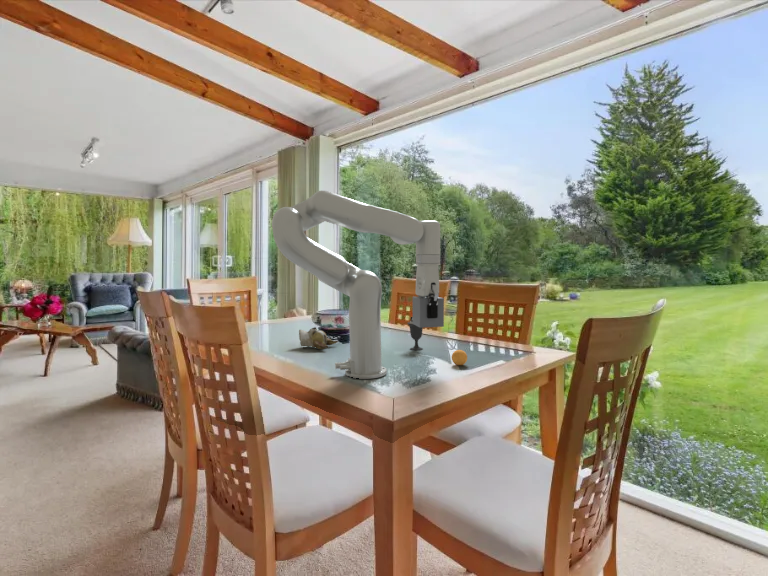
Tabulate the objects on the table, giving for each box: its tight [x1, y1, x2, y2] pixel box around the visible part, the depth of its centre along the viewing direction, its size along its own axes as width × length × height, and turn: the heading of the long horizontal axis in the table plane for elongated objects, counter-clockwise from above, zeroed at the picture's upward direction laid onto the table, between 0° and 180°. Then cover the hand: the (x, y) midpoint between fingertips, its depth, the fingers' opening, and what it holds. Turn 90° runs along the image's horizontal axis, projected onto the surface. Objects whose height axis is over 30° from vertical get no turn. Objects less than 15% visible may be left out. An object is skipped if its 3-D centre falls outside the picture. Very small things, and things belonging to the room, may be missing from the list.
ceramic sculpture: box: [298, 326, 339, 350], centre depth 171 cm, size 11×9×15 cm
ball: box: [451, 349, 468, 366], centre depth 140 cm, size 5×5×5 cm
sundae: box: [407, 316, 424, 351], centre depth 165 cm, size 7×7×15 cm
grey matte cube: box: [412, 296, 445, 329], centre depth 136 cm, size 8×8×9 cm
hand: (427, 316), depth 137 cm, fingers closed on grey matte cube, 7 cm apart
